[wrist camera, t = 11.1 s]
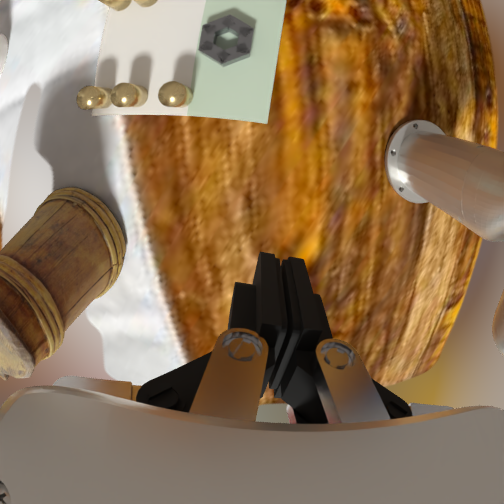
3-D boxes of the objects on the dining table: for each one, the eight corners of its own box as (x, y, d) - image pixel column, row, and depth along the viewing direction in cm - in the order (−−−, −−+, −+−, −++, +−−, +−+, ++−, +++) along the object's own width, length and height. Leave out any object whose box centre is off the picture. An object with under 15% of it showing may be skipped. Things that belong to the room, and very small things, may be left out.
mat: (287, -9, 24) (288, -11, 23) (266, 123, 33) (267, 123, 32) (115, -8, 22) (113, -9, 21) (94, 116, 31) (91, 116, 30)
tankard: (147, 232, 40) (62, 359, 17) (94, 318, 48) (40, 421, 26) (61, 164, 34) (-65, 232, 12) (27, 264, 42) (-47, 346, 20)
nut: (255, 22, 26) (256, 16, 24) (248, 69, 29) (248, 66, 27) (207, 18, 25) (204, 13, 23) (199, 65, 28) (196, 62, 27)
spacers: (212, -13, 23) (207, -29, 18) (191, 108, 31) (182, 107, 27) (115, -4, 22) (99, -15, 17) (95, 109, 30) (75, 110, 26)
